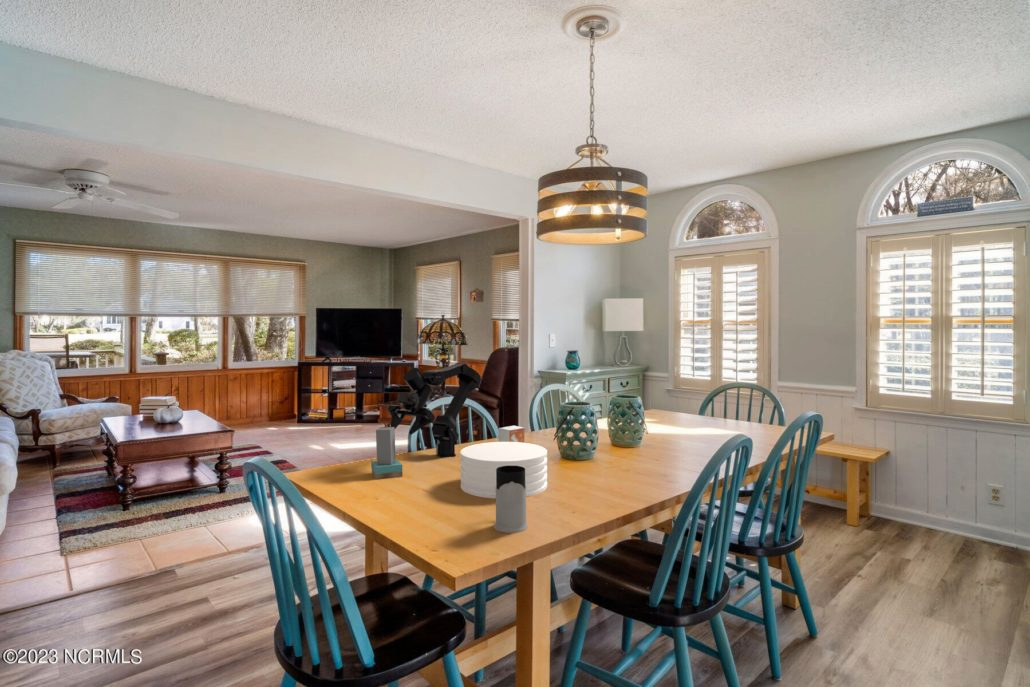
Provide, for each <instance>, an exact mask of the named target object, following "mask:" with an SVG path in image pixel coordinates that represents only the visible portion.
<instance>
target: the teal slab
mask: <svg viewBox="0 0 1030 687" xmlns="http://www.w3.org/2000/svg"><path fill="white" fill-rule="evenodd" d="M370 467H371V468H370V469H371V471H372V470H373V471H374V473H375V474H384V473H394V472H402V473H403V464H402V462H400V461H399V460H398V459H397V458H396V461H395V462H394V463H392V464H377V460H372V461H371V462H370Z"/></svg>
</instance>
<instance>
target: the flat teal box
mask: <svg viewBox="0 0 1030 687" xmlns="http://www.w3.org/2000/svg"><path fill="white" fill-rule="evenodd" d="M371 474H372V476H373V477H374V479H375V480H377V481H378V480H385V479H395V477H396V478H403V471H402V472H394V473H384V474H375V473H374V471H373V470H372V469H371Z"/></svg>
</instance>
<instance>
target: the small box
mask: <svg viewBox="0 0 1030 687" xmlns="http://www.w3.org/2000/svg"><path fill="white" fill-rule="evenodd" d="M497 433H498V437H497V438H498V441H497V442H522V443H525V427H523V426H518V425H509V426H504V427H499V428H498V432H497Z"/></svg>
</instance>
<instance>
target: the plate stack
mask: <svg viewBox="0 0 1030 687" xmlns="http://www.w3.org/2000/svg"><path fill="white" fill-rule="evenodd" d="M459 453H460V455H459V456H460V460H459V462H460V489H461V490H462V491H463V492H465V493H466V494H469V495H471V496H476V497H479V498H486V499H496V469H497V468H498V467H501V466H521V467H524V468H525V486H526V498H527V497H530V496H534V495H538V494H540V493H542V492H545V490H546V489H547V488H548V481H547V480H548V473H547V472H548V465H547V464H548V449H546V448H545V447H543V446H541V445H538V444H536V443H535V444H533V443H528V442H524V443H522V442H498V441H491V442H490V441H489V442H482V443H477V444H471V445H468V446H466V447H463V448H462V449H461V450H460V452H459Z"/></svg>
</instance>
